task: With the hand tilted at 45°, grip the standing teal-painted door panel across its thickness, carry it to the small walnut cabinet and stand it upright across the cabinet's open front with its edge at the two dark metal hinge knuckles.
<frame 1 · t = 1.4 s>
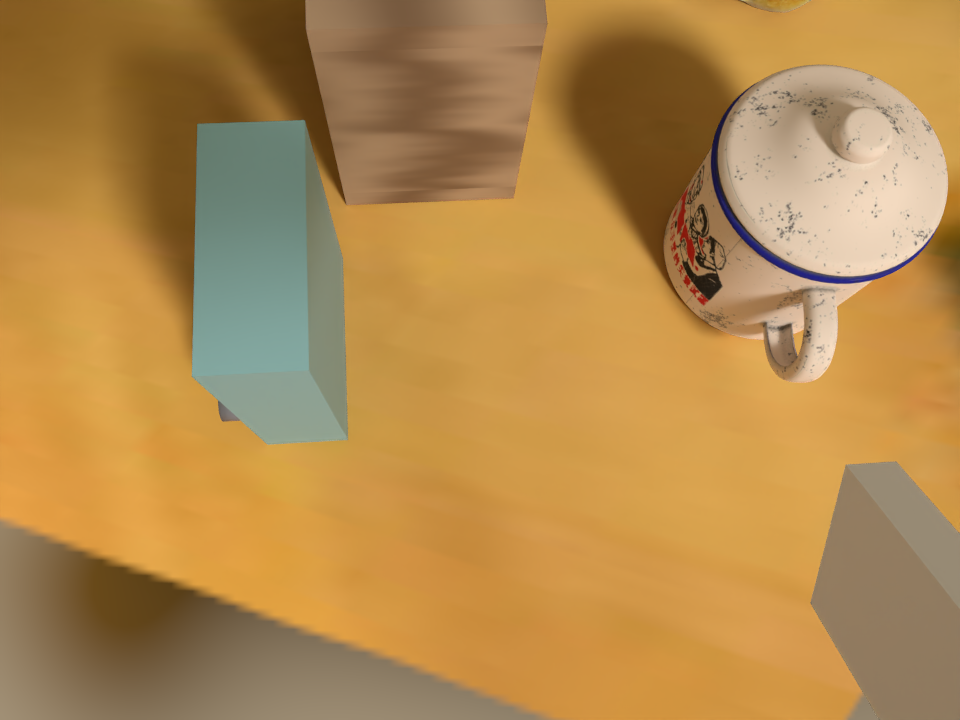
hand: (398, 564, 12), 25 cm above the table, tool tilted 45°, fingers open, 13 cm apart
teacup with lid: (750, 286, 40), on the table
door: (306, 348, 38), on the table
cabinet: (424, 91, 42), on the table
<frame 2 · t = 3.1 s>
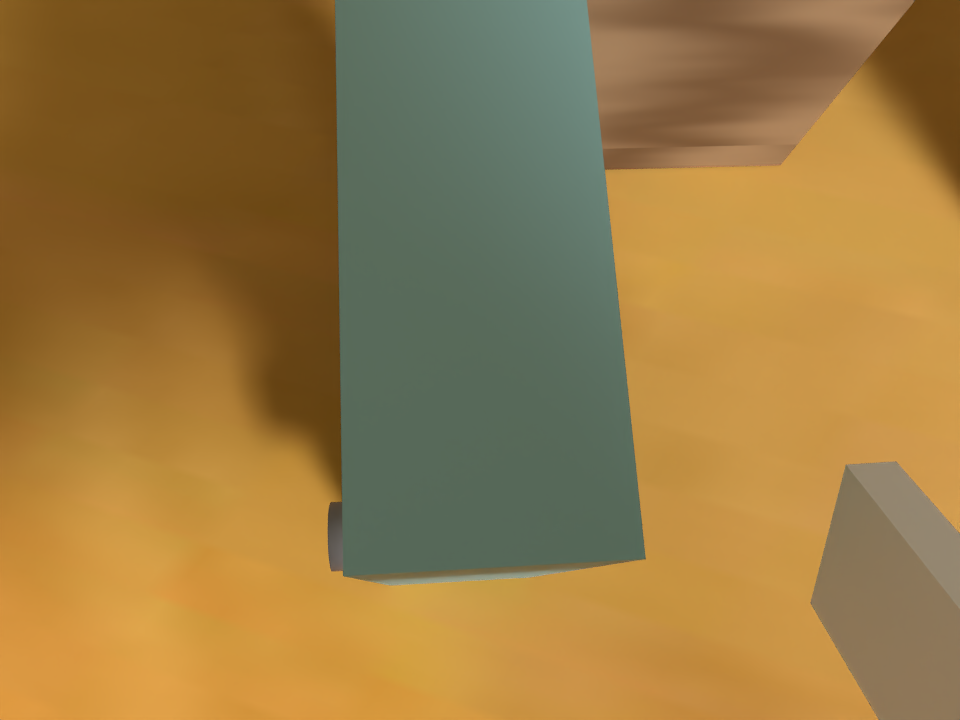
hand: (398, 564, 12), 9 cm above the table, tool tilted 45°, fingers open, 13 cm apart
door: (451, 413, 22), on the table
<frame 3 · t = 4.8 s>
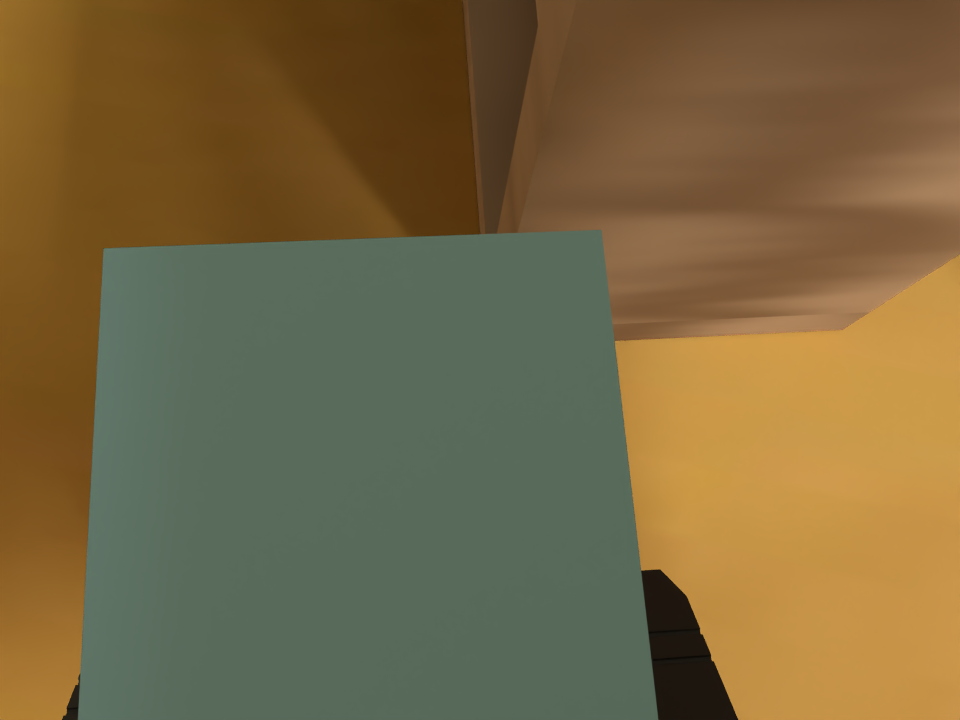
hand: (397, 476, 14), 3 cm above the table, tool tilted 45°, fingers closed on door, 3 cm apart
door: (411, 698, 16), on the table, touching gripper
cabinet: (636, 99, 20), on the table
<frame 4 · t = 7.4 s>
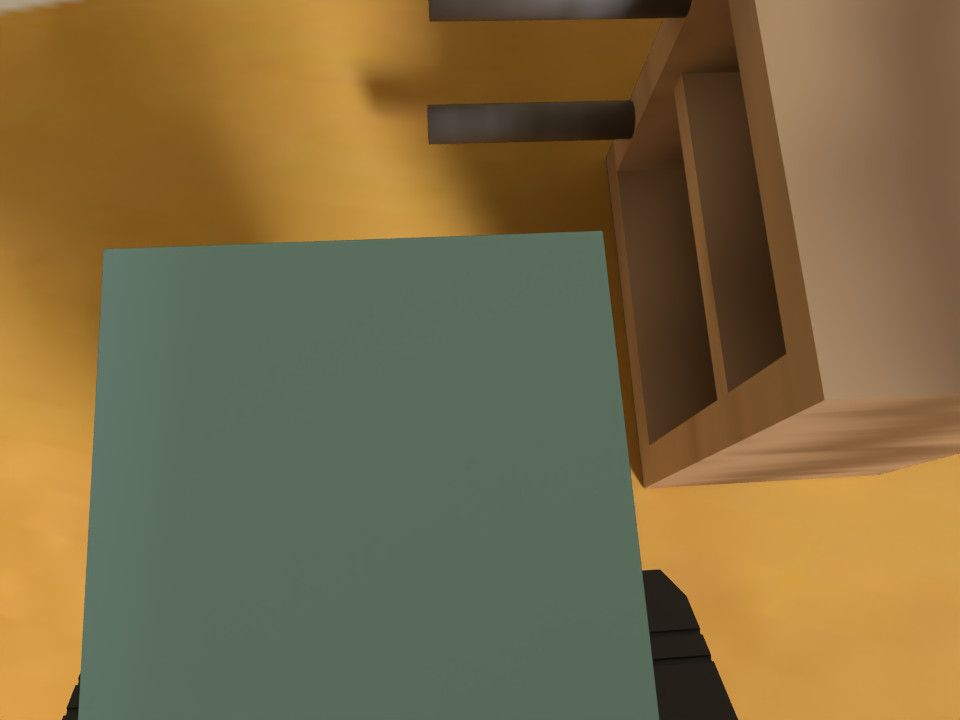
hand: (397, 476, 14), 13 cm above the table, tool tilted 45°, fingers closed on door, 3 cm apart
door: (411, 698, 16), point 10 cm above the table, touching gripper
cabinet: (736, 309, 30), on the table
when the fingers open (5 cm above the table, at t = 10.0 s): door drops 1 cm, on the table.
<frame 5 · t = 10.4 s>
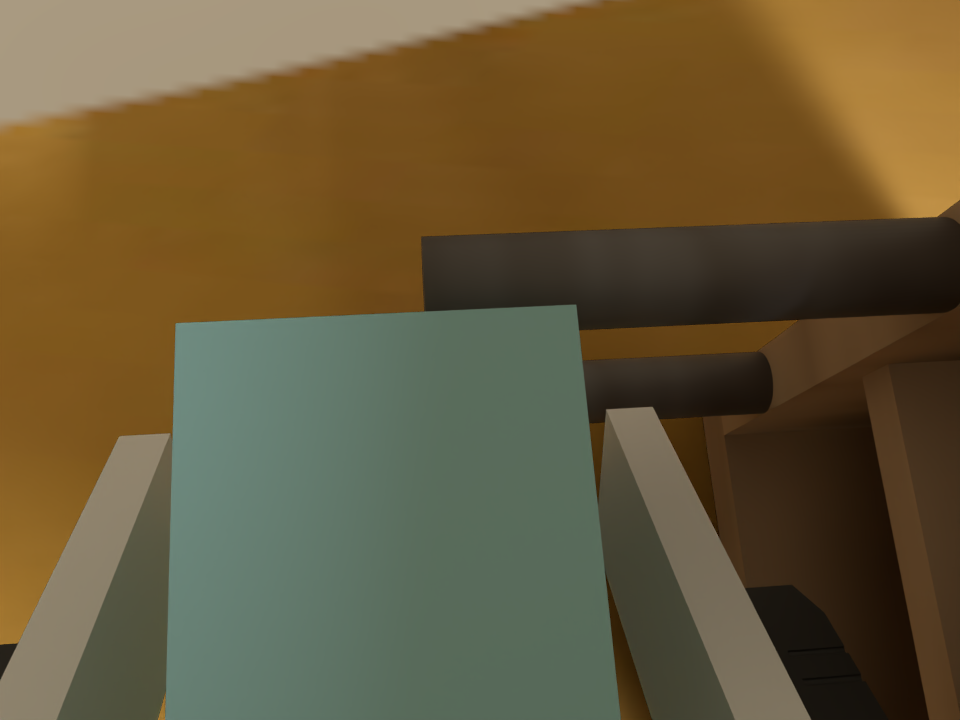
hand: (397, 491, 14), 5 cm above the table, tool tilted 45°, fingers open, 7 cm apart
door: (416, 692, 18), on the table
cabinet: (914, 649, 19), on the table
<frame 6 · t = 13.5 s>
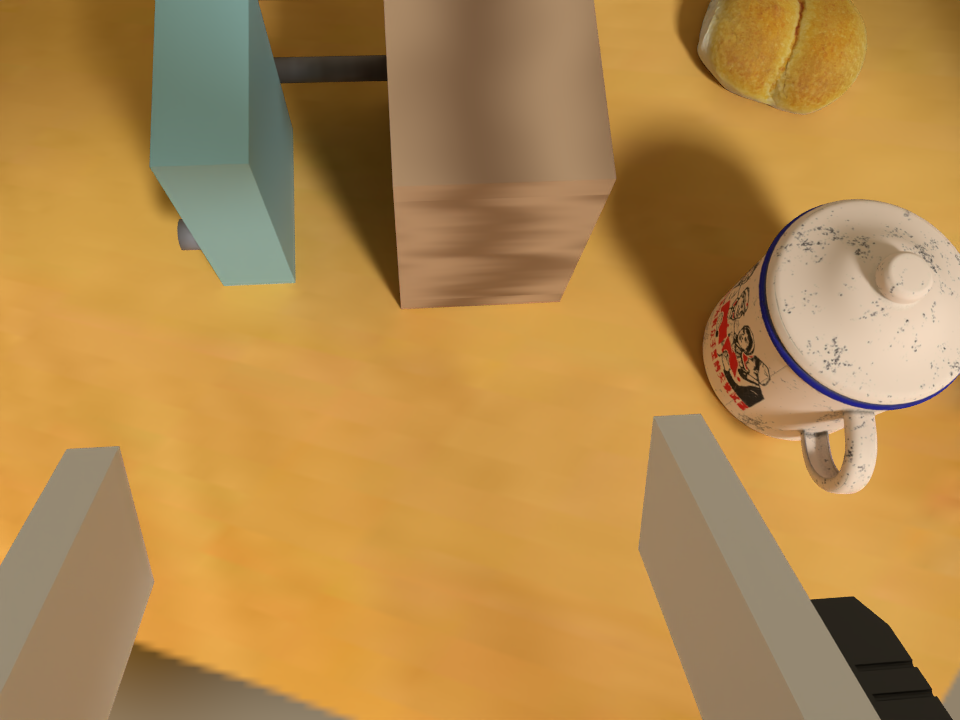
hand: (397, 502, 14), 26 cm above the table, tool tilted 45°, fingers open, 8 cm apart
teacup with lid: (783, 386, 43), on the table
door: (259, 205, 43), on the table
cabinet: (472, 196, 44), on the table
bread roll: (768, 56, 48), on the table
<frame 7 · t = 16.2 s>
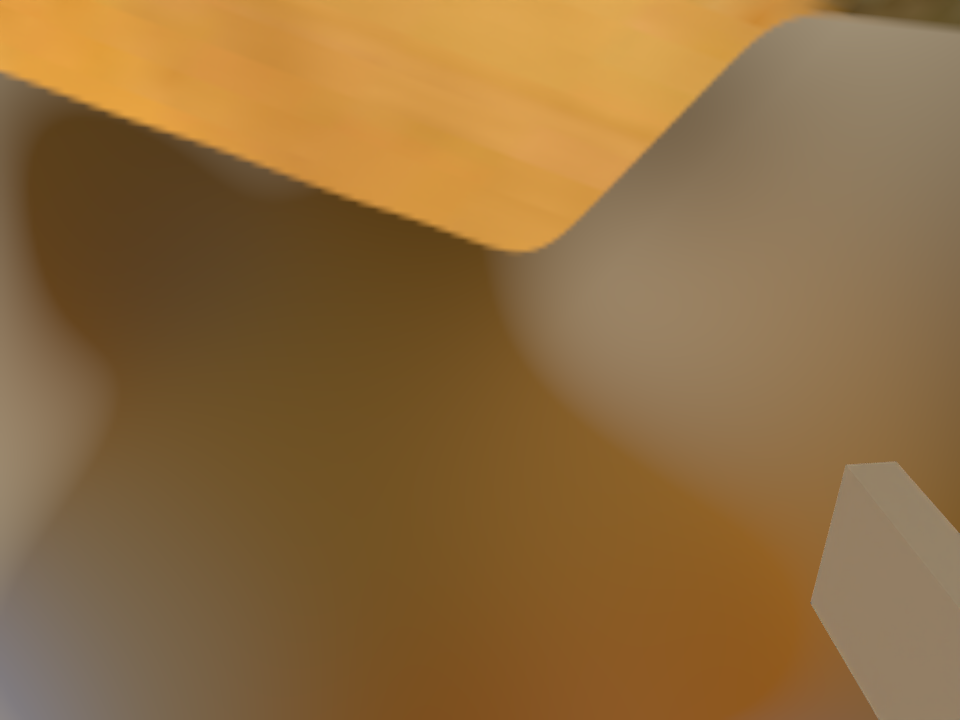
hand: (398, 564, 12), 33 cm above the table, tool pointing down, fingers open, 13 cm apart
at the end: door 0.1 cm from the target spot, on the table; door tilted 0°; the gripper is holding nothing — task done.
